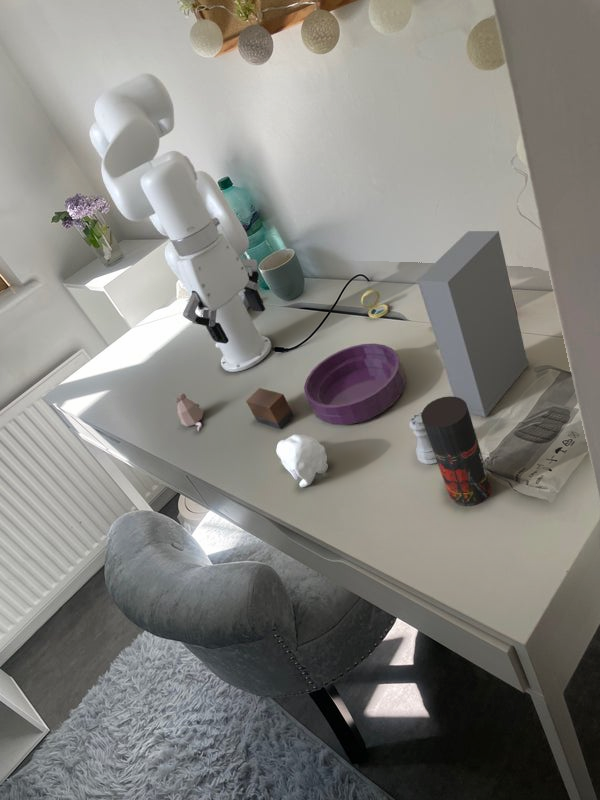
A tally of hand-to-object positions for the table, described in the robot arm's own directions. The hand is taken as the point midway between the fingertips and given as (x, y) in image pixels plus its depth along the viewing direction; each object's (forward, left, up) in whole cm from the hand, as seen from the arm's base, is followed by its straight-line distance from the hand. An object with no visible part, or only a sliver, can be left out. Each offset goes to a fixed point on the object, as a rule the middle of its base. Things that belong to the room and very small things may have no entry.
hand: (241, 325), depth 109 cm
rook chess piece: (+35, -1, -20) cm, 40 cm away
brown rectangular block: (0, -3, -20) cm, 20 cm away
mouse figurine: (-19, -10, -20) cm, 30 cm away
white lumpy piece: (+16, -11, -20) cm, 28 cm away
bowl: (+13, +8, -20) cm, 25 cm away
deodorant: (+44, -5, -20) cm, 49 cm away
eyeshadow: (-1, +33, -20) cm, 39 cm away
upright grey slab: (+36, +16, -20) cm, 44 cm away
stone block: (-45, +24, -20) cm, 55 cm away
